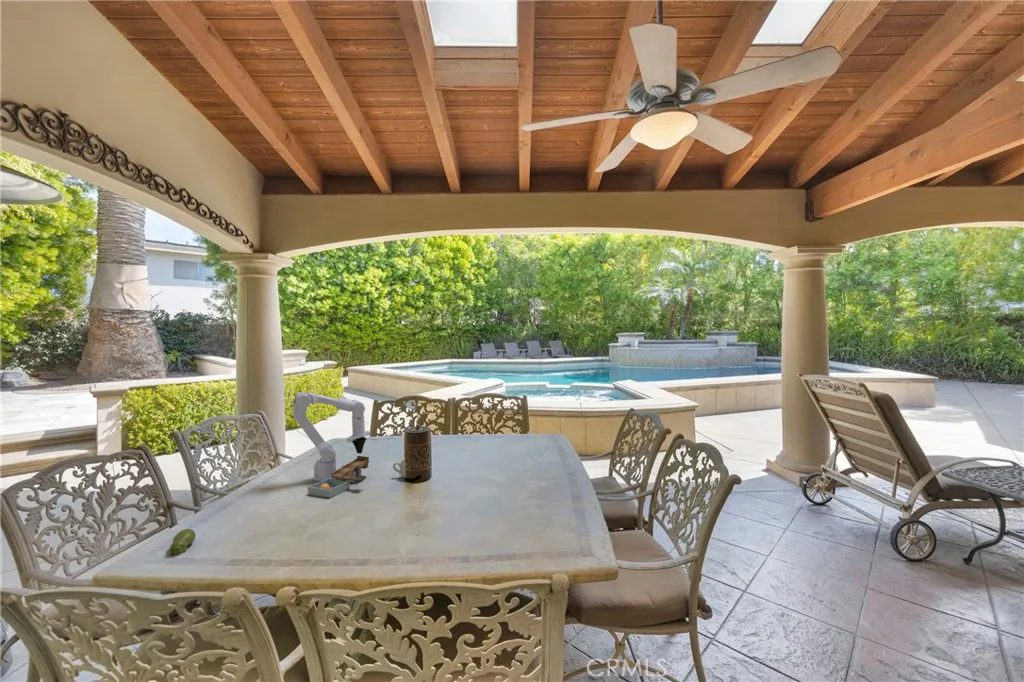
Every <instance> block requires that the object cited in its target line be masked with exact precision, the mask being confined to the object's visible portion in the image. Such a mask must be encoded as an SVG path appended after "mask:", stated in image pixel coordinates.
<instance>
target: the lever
mask: <svg viewBox="0 0 1024 682" xmlns="http://www.w3.org/2000/svg"><path fill="white" fill-rule="evenodd" d="M369 459H370V458H369V456H366V455H365V456H363V455H357V456H356V458H355V459H353V460H352V461H350V462H348V463H347V464H344V465H345V466H344V465H342V466H343V467H341V466H340V468H338V469H336V471H335V472H333V473H331V474H332V478H337V479H338V480H342V479H347V480H353V481H356V482H361V481H363V482H364V481H365V479H367V476H366V475H362V474H361V475H358V476H357V477H356V475H355V476H353V475H352V474H354V473H356V468H358V467H361V470H365V469H367V468H369V463H370V460H369ZM361 483H362V482H361Z"/></svg>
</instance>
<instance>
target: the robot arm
mask: <svg viewBox="0 0 1024 682" xmlns="http://www.w3.org/2000/svg"><path fill="white" fill-rule="evenodd" d="M318 403H320V404H326V405H330V406H335V409H336V410H340V411H344V412H345V411H346V412H348V413H349V412H351V416H352V417H351V424H352V426H351V427H352V435H350V436H349V437H346V442H347V443H352V444H353V446H354V448H355V451H356V453H357V454H360V455H361V454H362V453H363V450H364V445H365V443H366V441H367V436H371V431H369V430H367V431H365V429H366V427H365V411H366V407H365V404H364V403H363V402H361V401H359V400H356V399H349V398H347V397H346V396H342V397H338V398H333V397H329V396H326V395H322V394H318V393H314V392H313V393H312V392H306V391H299V392H298V393H296V394H295V396H294V398H293V401H292V417H293V419H294V420H295V421H296V422H297V424H298V425H299V427H300V428H301V429H302V430H303V432H304V434H306V435H307V437H308V438H309V440H310V441H311V442H312V443H313V445H314V446H315V448H316V449H317V451H318V452H319V456H320V459H317V460H316V461H315V463H314V465H313V466H314V467H313V476H314V478H313V479H312V480H313V481H317V482H321V481H323V480H325V479H328V478H331V479H338V478H332V474H331V473H333V472H335V471H336V470H337V461H336V459H337V458H336V455H337V452H336V450H334V447H333V446H332V445H331V444H328V442H326V441H325V439H324V438H323V437H322V436H321V434H320V433H319V431H318V430H317V428H315V426H314V424H313V423H312V422H311V421H310V419H309V418H308V416H306V412H307V411H308V410H307V409H308V408H309V406H310V405H315V404H318Z"/></svg>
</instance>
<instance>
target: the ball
mask: <svg viewBox="0 0 1024 682" xmlns="http://www.w3.org/2000/svg"><path fill="white" fill-rule="evenodd" d="M320 488H323V489H330V487H329V485H328V484H322V485H321V486H320Z"/></svg>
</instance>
